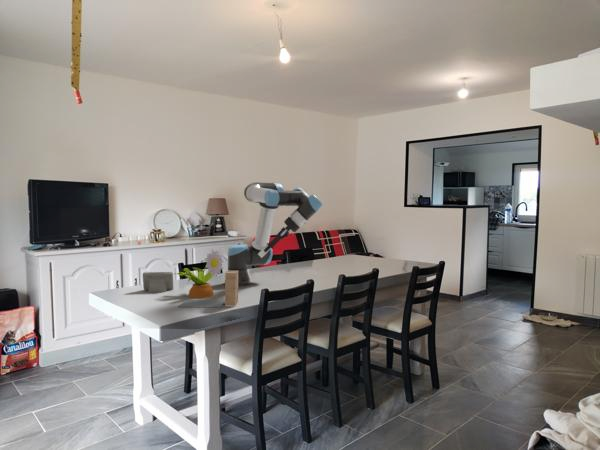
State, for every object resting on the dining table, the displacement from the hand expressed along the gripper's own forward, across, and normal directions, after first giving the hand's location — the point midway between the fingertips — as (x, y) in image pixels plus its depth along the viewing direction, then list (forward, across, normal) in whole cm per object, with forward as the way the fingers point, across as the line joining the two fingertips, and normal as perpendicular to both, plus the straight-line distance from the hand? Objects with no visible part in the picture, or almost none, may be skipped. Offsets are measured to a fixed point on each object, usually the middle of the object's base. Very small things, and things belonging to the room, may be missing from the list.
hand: (259, 255), depth 205 cm
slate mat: (+36, 0, +3) cm, 36 cm away
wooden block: (+27, +1, -7) cm, 28 cm away
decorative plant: (+41, +21, +7) cm, 46 cm away
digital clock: (+59, +29, +25) cm, 70 cm away
